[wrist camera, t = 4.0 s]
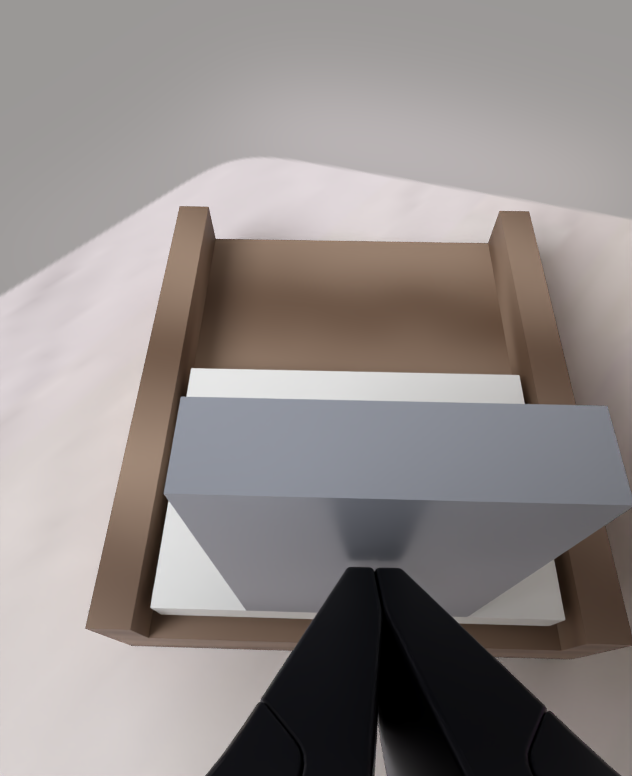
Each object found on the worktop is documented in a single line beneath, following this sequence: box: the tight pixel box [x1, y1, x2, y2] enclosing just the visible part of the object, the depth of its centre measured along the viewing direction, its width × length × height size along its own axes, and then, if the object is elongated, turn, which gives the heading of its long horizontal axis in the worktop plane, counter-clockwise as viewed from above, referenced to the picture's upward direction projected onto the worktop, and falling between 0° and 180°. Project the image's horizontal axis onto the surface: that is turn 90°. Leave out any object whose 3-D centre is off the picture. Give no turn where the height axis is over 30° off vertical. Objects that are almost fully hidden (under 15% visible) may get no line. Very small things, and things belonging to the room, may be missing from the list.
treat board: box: [85, 206, 632, 659], centre depth 17 cm, size 14×12×4 cm
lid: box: [150, 368, 632, 626], centre depth 11 cm, size 6×9×9 cm
